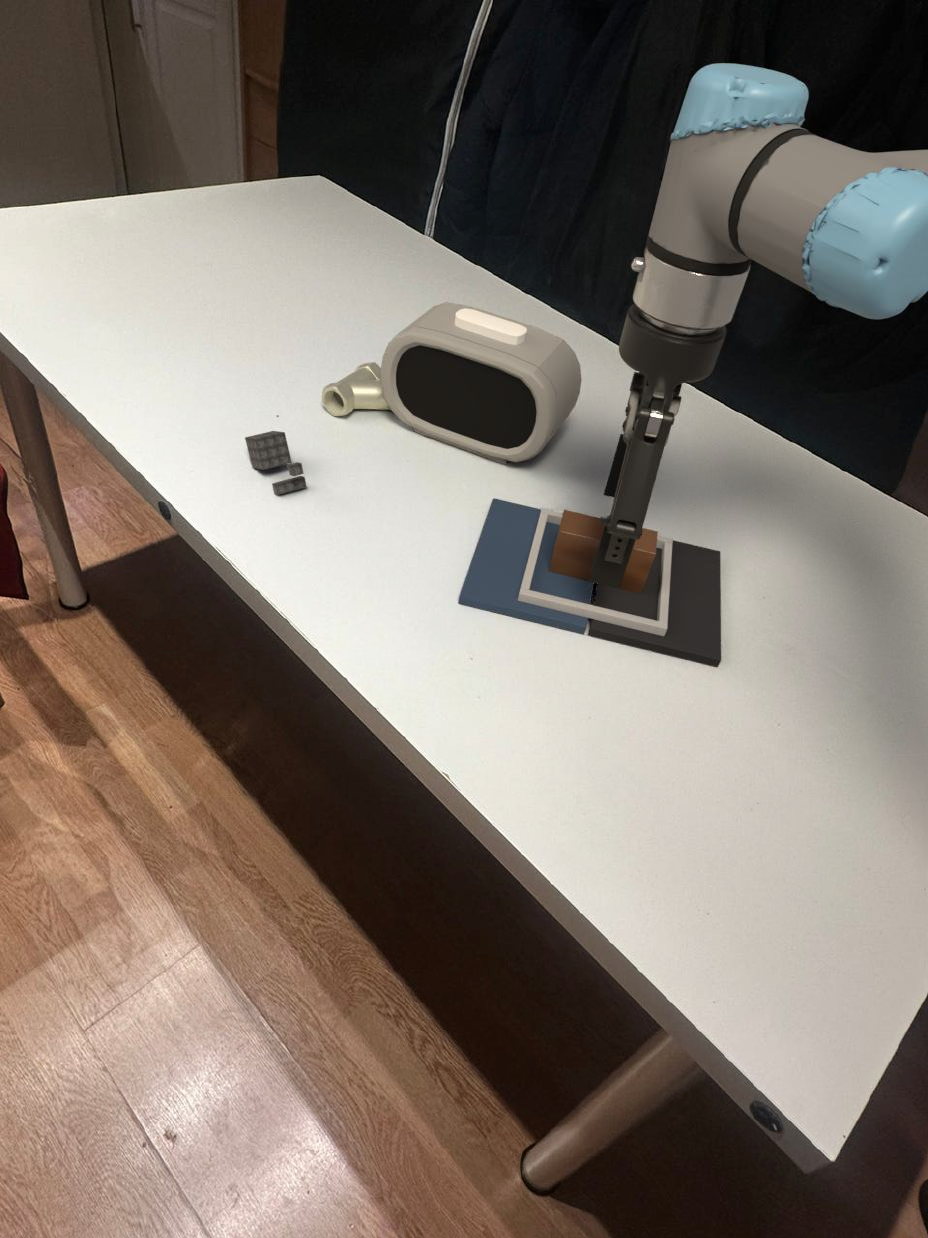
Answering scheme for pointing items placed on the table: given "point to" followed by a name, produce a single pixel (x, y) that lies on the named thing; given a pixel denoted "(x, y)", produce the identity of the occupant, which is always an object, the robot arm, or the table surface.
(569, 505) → the table surface
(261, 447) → the building blocks
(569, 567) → the brown rectangular block
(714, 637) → the back pads
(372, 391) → the pipe fitting
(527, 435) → the alarm clock
